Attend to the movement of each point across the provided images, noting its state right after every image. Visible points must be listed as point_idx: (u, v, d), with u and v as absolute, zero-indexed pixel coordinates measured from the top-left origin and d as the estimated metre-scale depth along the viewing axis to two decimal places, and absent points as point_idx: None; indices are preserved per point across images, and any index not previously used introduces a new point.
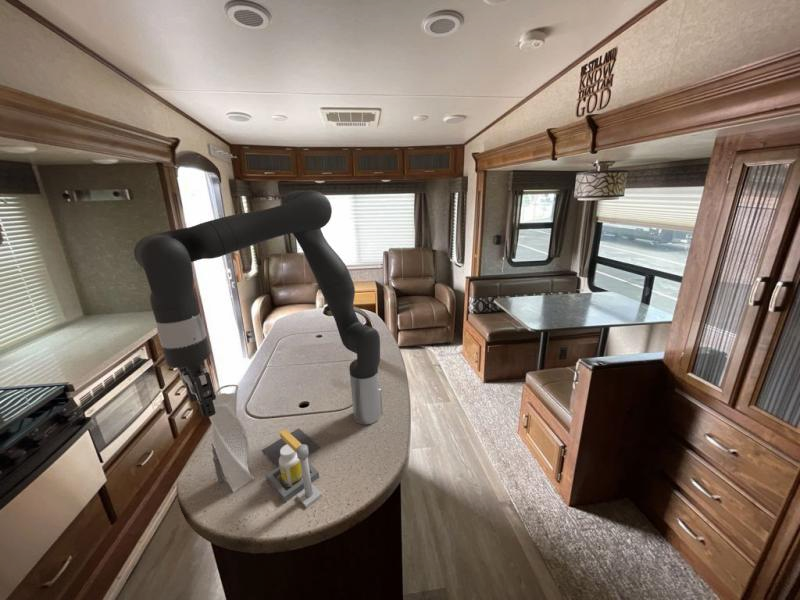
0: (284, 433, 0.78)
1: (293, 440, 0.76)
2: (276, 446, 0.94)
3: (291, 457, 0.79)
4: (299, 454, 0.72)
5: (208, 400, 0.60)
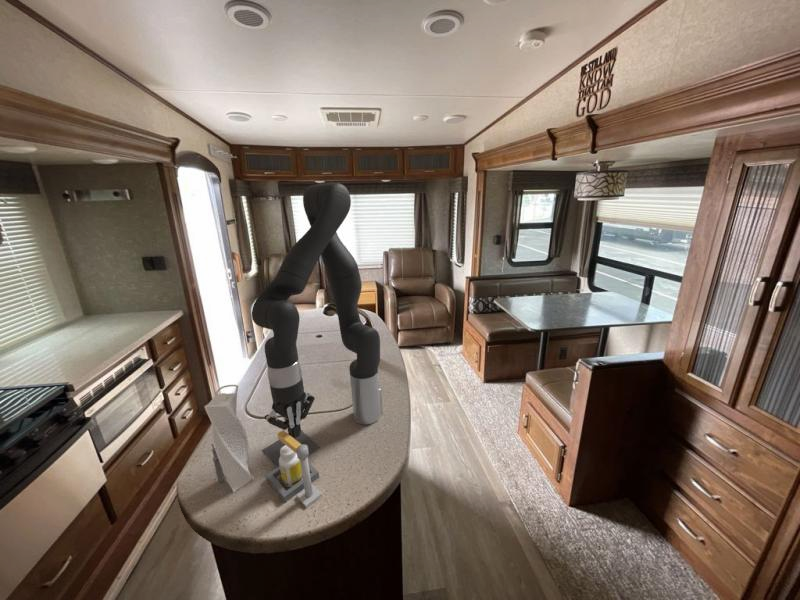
0: (283, 434, 0.78)
1: (292, 441, 0.76)
2: (276, 446, 0.94)
3: (291, 457, 0.79)
4: (299, 454, 0.72)
5: None
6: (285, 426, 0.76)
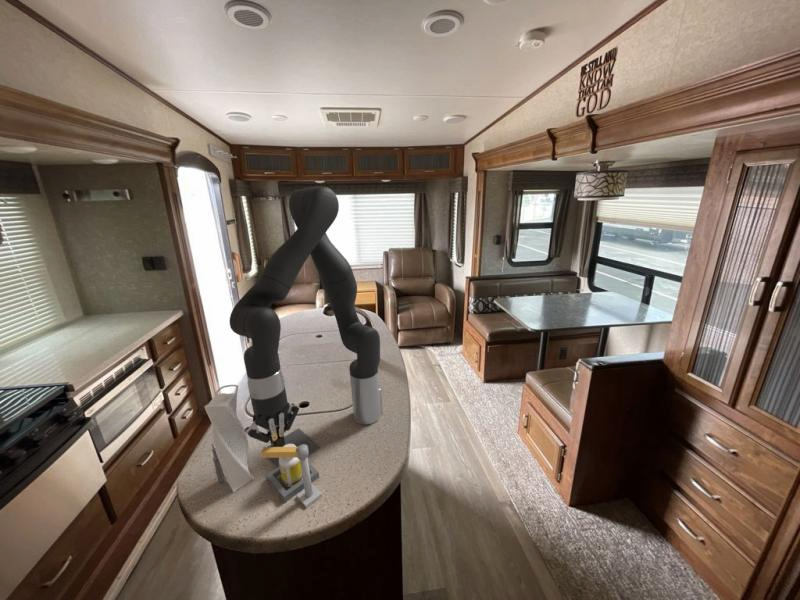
0: (268, 449, 0.73)
1: (284, 449, 0.73)
2: None
3: (291, 457, 0.79)
4: (303, 454, 0.72)
5: None
6: (267, 439, 0.72)
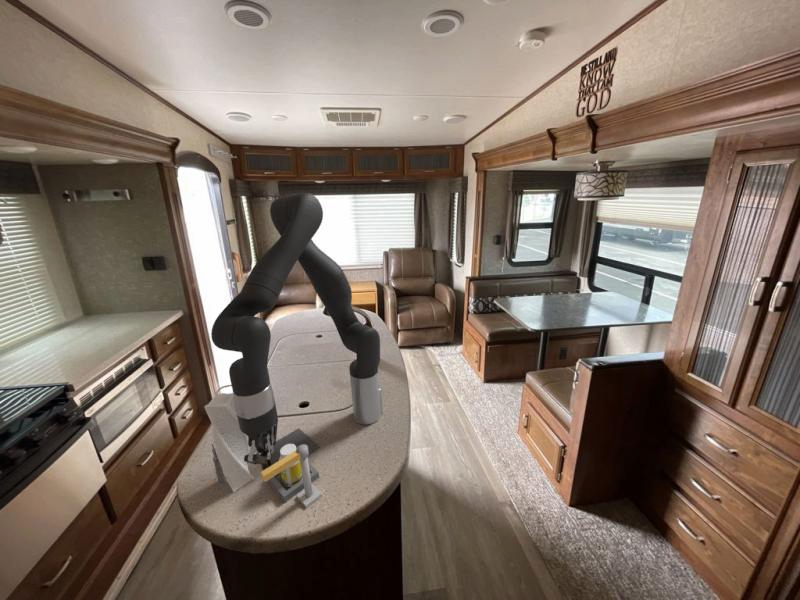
0: (268, 470, 0.68)
1: (285, 459, 0.71)
2: (276, 446, 0.94)
3: None
4: (307, 451, 0.73)
5: None
6: (266, 459, 0.67)
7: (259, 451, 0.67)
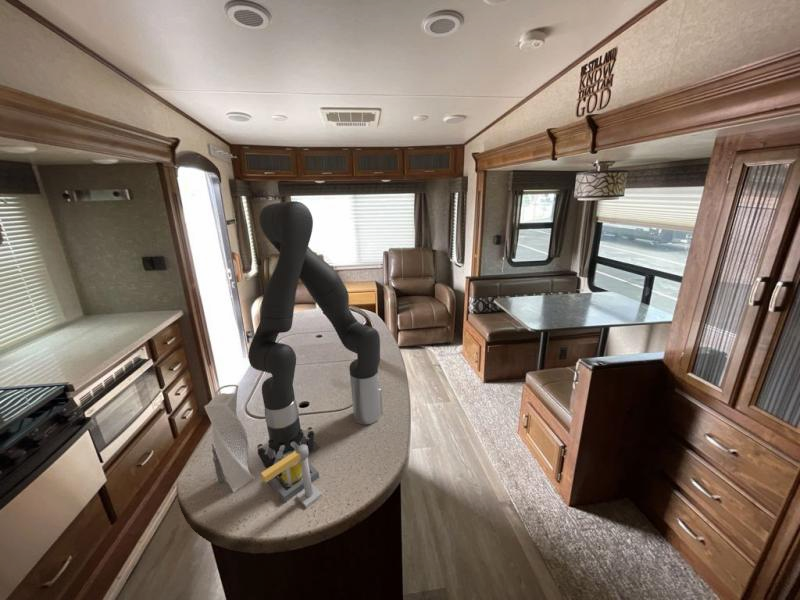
0: (269, 471, 0.68)
1: (285, 459, 0.70)
2: None
3: None
4: (307, 451, 0.73)
5: None
6: (267, 465, 0.77)
7: (275, 453, 0.79)
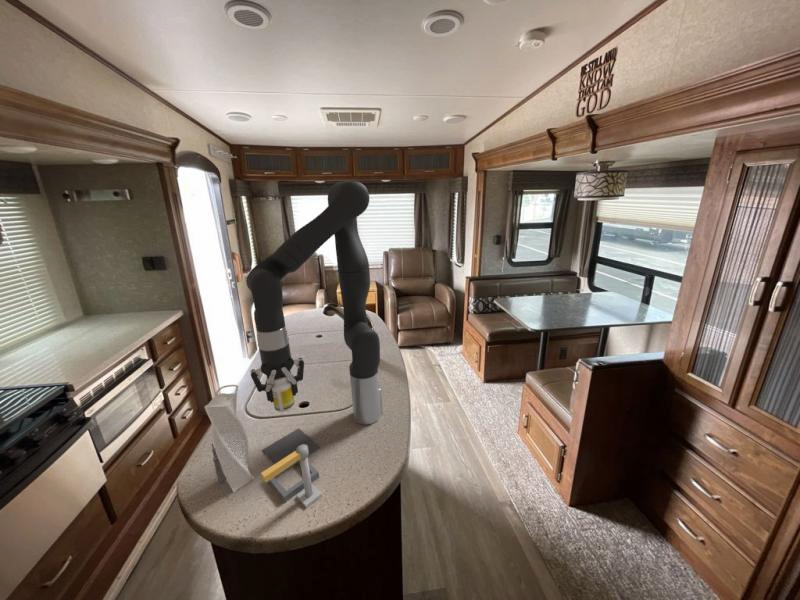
0: (269, 471, 0.68)
1: (285, 459, 0.70)
2: (276, 446, 0.94)
3: (282, 383, 0.85)
4: (307, 451, 0.73)
5: None
6: (260, 388, 0.83)
7: (267, 379, 0.84)
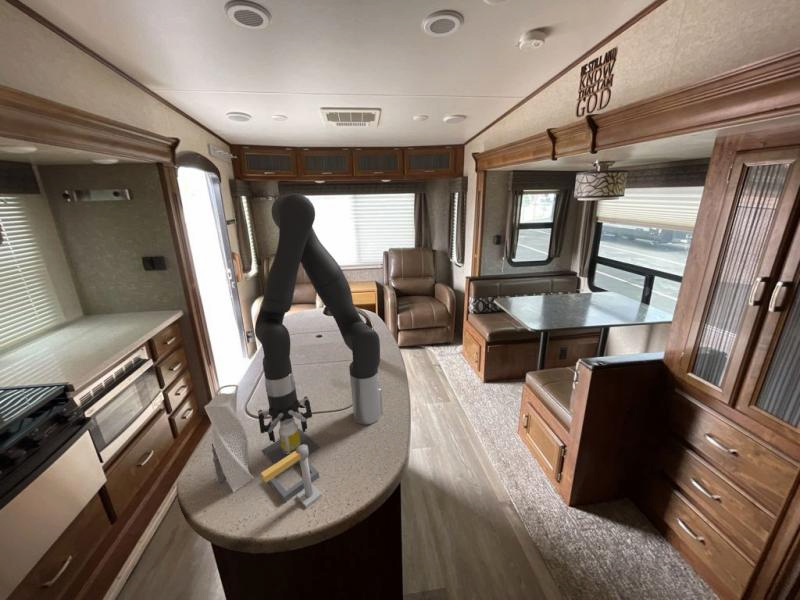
0: (269, 471, 0.68)
1: (285, 459, 0.70)
2: (276, 446, 0.94)
3: (290, 427, 0.89)
4: (307, 451, 0.73)
5: None
6: (262, 430, 0.86)
7: (271, 420, 0.88)
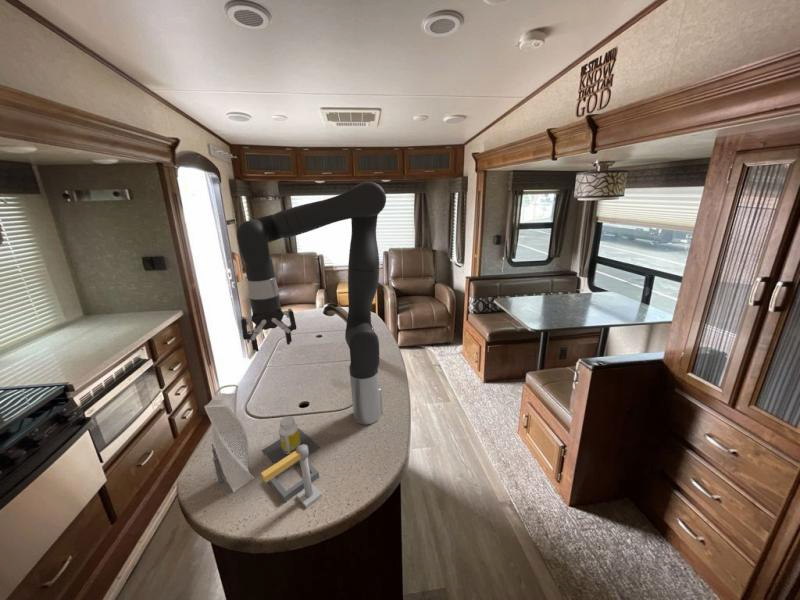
0: (269, 471, 0.68)
1: (285, 459, 0.70)
2: (276, 446, 0.94)
3: (290, 427, 0.89)
4: (307, 451, 0.73)
5: (295, 326, 0.92)
6: (245, 336, 0.86)
7: (254, 328, 0.88)
